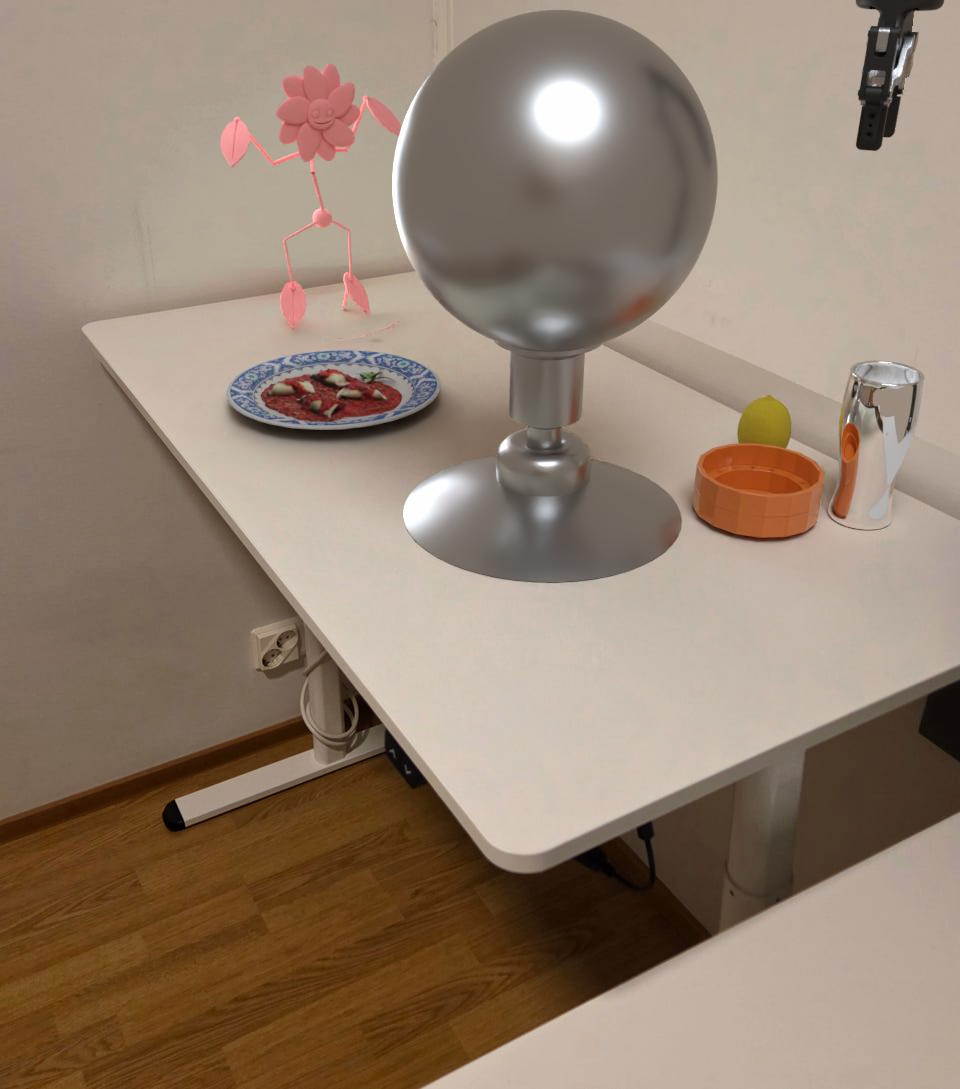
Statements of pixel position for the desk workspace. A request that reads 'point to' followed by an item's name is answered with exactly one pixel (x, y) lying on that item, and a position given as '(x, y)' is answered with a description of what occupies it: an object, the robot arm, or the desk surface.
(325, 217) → the figurine
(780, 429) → the lemon
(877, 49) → the robot arm
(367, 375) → the ceramic plate
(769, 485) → the bowl
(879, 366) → the beer glass
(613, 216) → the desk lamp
